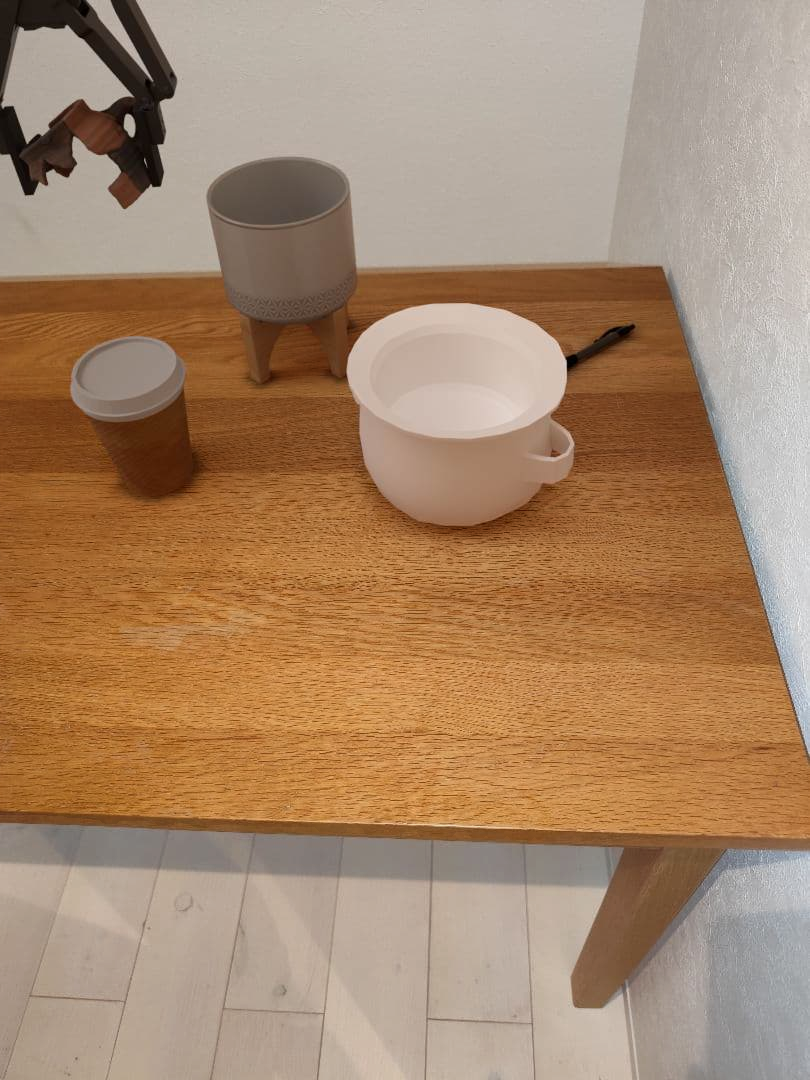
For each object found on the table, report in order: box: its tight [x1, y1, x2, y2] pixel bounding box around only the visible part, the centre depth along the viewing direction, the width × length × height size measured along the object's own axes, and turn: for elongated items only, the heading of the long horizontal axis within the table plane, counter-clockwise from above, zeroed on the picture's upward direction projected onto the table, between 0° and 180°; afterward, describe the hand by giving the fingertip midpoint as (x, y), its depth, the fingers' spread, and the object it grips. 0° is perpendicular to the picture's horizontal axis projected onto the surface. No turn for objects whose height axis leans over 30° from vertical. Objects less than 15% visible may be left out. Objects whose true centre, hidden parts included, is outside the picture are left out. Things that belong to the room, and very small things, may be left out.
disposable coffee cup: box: [69, 335, 194, 497], centre depth 78 cm, size 10×10×12 cm
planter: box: [205, 156, 358, 384], centre depth 87 cm, size 13×13×18 cm
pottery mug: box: [19, 95, 152, 210], centre depth 78 cm, size 12×10×8 cm
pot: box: [346, 302, 575, 527], centre depth 76 cm, size 22×17×12 cm
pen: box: [564, 323, 636, 370], centre depth 91 cm, size 14×2×1 cm, turn 128°
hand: (95, 183), depth 79 cm, fingers closed on pottery mug, 10 cm apart
